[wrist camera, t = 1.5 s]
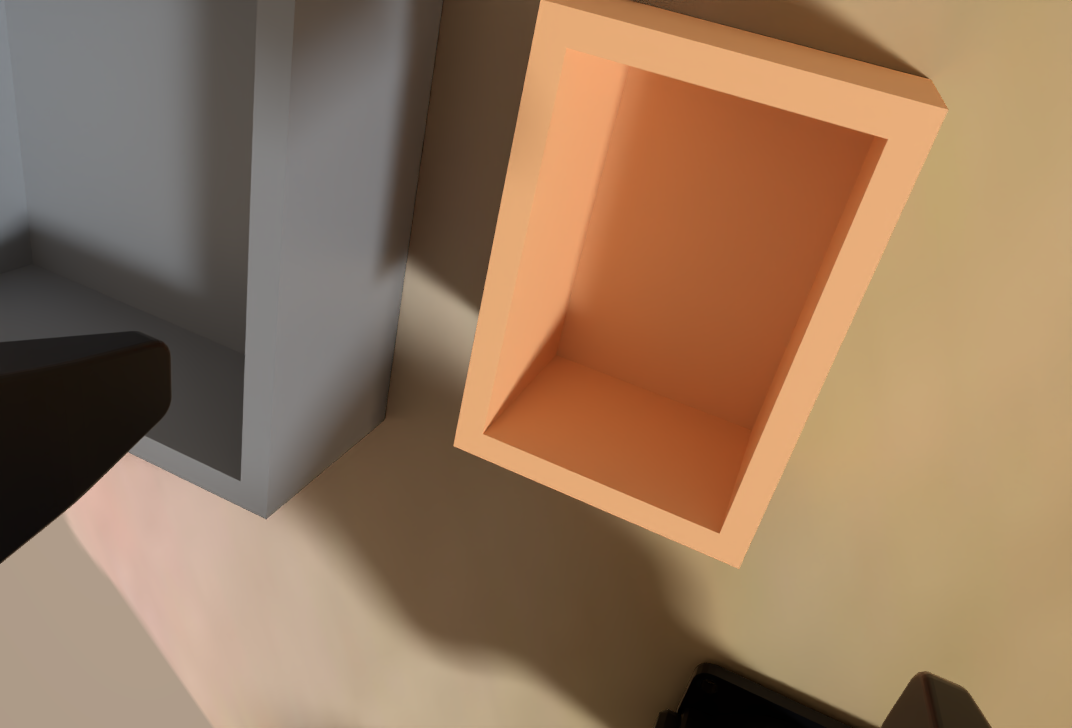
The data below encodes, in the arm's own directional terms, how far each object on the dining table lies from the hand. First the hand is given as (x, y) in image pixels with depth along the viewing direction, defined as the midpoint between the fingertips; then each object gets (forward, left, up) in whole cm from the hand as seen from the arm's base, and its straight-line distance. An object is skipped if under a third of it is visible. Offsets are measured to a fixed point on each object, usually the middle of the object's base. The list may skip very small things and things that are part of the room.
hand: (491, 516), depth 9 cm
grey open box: (+14, +1, -12) cm, 18 cm away
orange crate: (0, 0, -12) cm, 12 cm away
